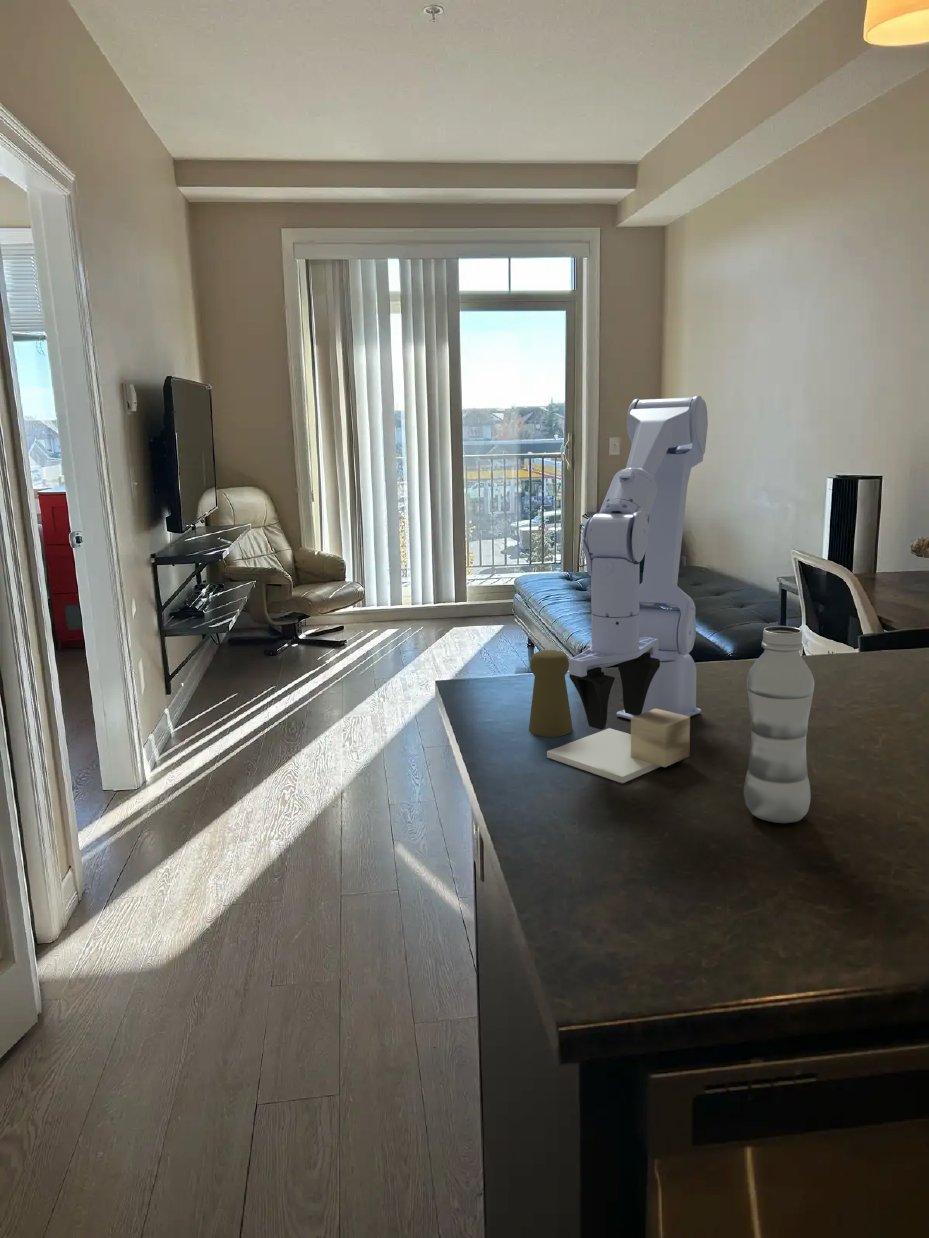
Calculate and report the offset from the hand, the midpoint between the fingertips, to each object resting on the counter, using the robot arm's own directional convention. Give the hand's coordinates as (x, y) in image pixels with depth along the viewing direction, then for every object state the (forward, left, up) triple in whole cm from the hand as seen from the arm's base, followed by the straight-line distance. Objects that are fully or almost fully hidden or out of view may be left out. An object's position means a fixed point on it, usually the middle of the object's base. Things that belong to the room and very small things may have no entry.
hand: (615, 720), depth 110 cm
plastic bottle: (+2, +23, -5) cm, 24 cm away
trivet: (0, 0, -5) cm, 5 cm away
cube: (-2, +5, -4) cm, 7 cm away
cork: (-2, -13, -5) cm, 14 cm away
